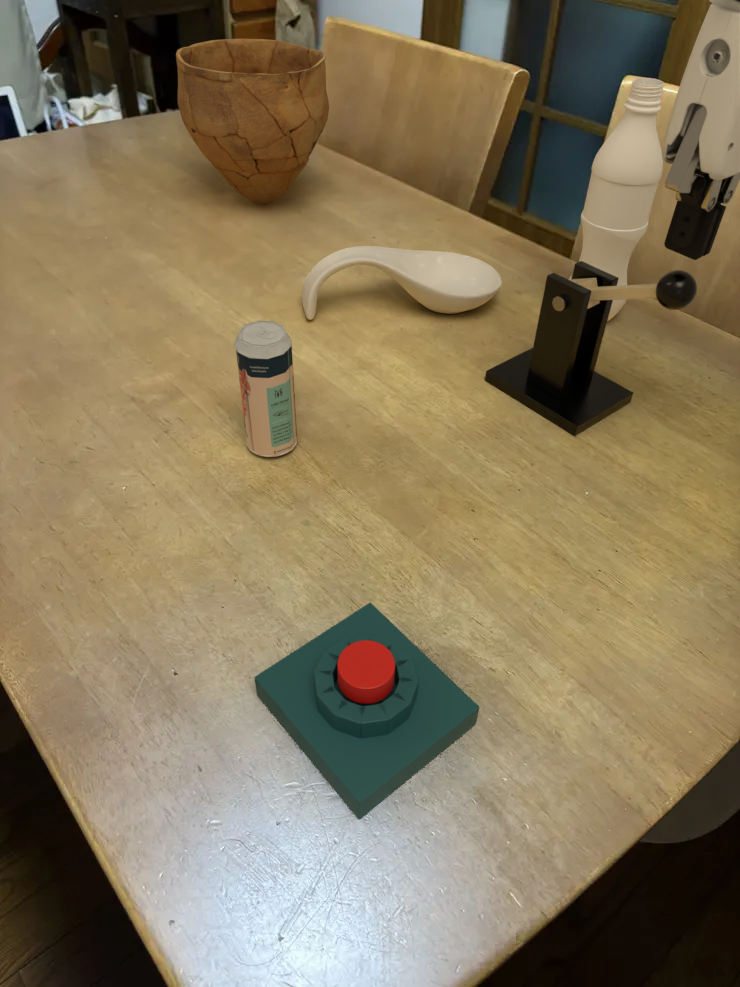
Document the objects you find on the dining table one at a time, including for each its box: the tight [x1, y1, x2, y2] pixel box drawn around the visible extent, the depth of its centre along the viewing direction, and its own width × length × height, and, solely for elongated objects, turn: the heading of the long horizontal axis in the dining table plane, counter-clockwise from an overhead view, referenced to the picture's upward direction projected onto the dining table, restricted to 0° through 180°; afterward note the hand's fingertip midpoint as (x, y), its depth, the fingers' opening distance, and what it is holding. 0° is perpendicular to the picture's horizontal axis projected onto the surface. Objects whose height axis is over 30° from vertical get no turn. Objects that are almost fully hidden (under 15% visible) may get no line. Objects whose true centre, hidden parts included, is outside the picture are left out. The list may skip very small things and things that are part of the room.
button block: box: [253, 602, 480, 820], centre depth 49 cm, size 11×10×4 cm
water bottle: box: [568, 77, 665, 322], centre depth 81 cm, size 7×7×25 cm
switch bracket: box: [484, 261, 634, 437], centre depth 73 cm, size 12×9×13 cm
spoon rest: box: [301, 245, 503, 321], centre depth 88 cm, size 24×12×7 cm, turn 102°
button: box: [337, 640, 395, 704], centre depth 47 cm, size 4×4×2 cm
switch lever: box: [570, 269, 698, 311], centre depth 66 cm, size 13×3×3 cm, turn 40°
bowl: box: [175, 38, 330, 205], centre depth 105 cm, size 21×20×20 cm
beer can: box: [234, 320, 298, 458], centre depth 66 cm, size 5×5×12 cm
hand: (685, 250), depth 60 cm, fingers closed
